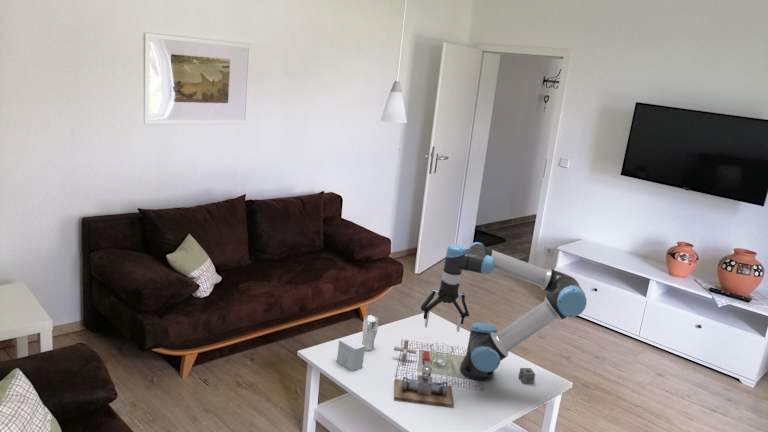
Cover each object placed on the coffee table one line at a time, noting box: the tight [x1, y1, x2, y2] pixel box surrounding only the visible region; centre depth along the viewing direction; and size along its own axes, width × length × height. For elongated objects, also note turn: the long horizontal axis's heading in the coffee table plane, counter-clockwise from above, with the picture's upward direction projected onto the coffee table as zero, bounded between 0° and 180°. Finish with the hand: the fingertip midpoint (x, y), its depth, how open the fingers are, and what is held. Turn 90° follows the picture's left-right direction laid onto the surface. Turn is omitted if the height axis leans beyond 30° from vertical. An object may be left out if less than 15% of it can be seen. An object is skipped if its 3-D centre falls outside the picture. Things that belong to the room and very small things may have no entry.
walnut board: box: [393, 378, 455, 409], centre depth 253 cm, size 24×14×2 cm, turn 89°
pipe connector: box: [393, 338, 417, 362], centre depth 278 cm, size 10×10×10 cm
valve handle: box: [421, 350, 433, 377], centre depth 257 cm, size 4×16×3 cm, turn 179°
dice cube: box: [518, 367, 536, 385], centre depth 274 cm, size 5×5×5 cm
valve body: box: [402, 374, 448, 396], centre depth 252 cm, size 18×6×8 cm, turn 89°
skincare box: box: [336, 336, 365, 372], centre depth 269 cm, size 10×6×10 cm, turn 48°
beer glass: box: [361, 314, 379, 352], centre depth 284 cm, size 7×7×15 cm
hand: (441, 328), depth 258 cm, fingers open, 13 cm apart
